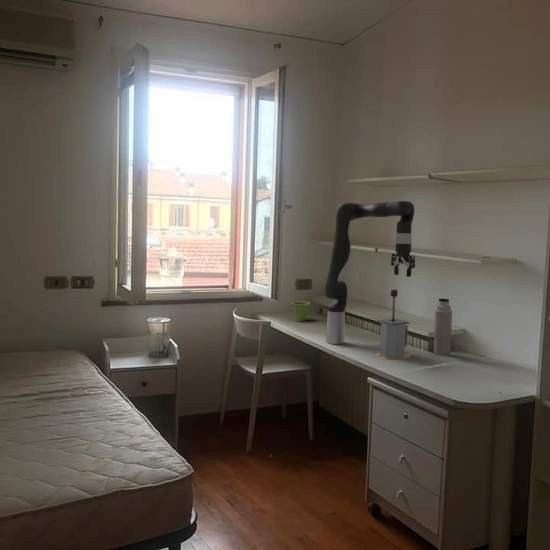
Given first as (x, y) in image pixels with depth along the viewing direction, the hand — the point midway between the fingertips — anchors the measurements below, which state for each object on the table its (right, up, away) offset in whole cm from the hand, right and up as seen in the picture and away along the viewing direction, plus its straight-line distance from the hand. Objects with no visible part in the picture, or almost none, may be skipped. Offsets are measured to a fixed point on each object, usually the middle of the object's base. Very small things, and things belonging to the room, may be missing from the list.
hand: (402, 275), depth 302 cm
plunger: (-5, -26, -3) cm, 27 cm away
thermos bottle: (+20, -39, +4) cm, 45 cm away
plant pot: (-46, -29, +96) cm, 110 cm away
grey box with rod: (-4, -39, -1) cm, 39 cm away
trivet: (-5, -40, -2) cm, 40 cm away
